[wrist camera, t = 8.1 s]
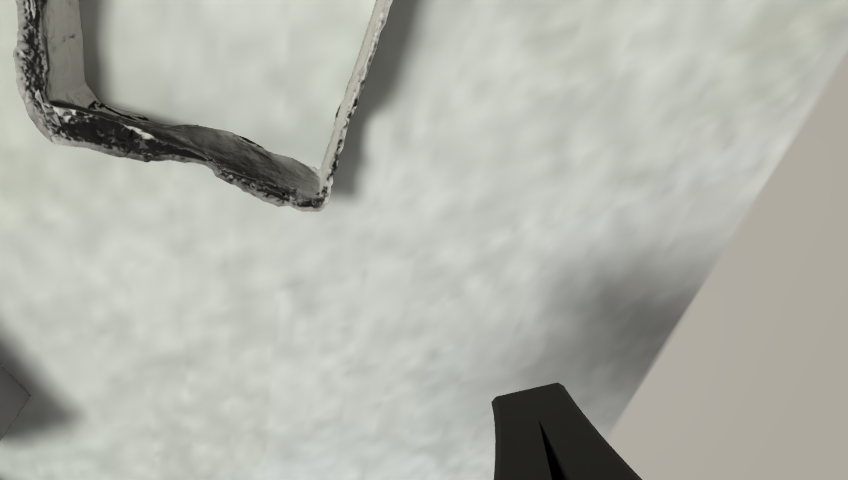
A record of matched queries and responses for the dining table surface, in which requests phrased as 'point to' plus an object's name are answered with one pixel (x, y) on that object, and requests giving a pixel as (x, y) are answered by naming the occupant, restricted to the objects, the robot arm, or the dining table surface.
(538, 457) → the robot arm
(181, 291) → the dining table surface
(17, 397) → the grey stepped block
